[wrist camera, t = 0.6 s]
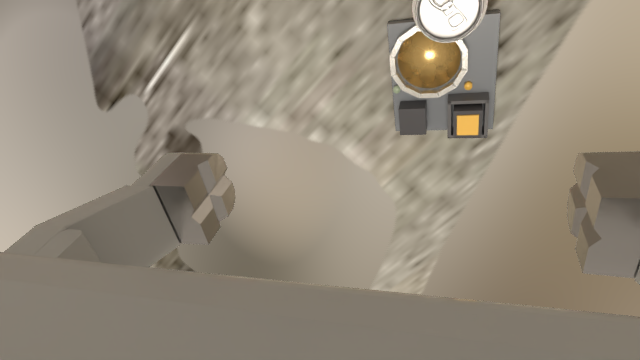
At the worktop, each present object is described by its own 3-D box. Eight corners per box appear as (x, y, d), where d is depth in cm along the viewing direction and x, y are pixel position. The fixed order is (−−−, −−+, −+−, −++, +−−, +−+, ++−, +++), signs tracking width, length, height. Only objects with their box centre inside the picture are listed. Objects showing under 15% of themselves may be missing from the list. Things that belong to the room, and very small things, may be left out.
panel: (388, 21, 49) (384, 30, 47) (499, 10, 46) (501, 19, 43) (396, 126, 57) (393, 139, 54) (492, 124, 53) (493, 138, 51)
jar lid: (388, 25, 48) (387, 28, 48) (468, 17, 46) (468, 20, 45) (394, 95, 53) (392, 99, 52) (466, 91, 51) (466, 96, 50)
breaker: (453, 103, 50) (453, 112, 49) (482, 102, 49) (482, 111, 48) (453, 129, 53) (453, 138, 51) (481, 129, 52) (481, 138, 50)
